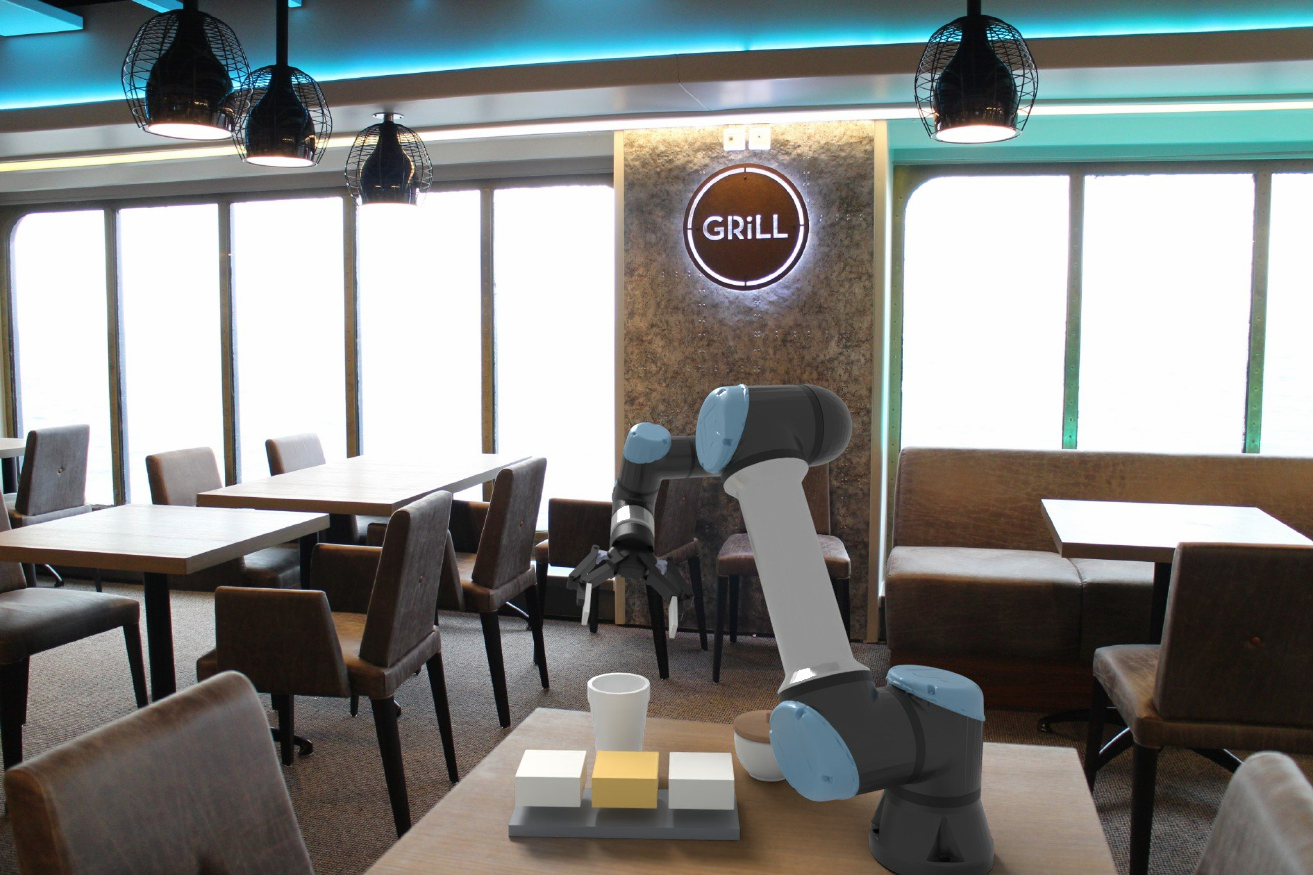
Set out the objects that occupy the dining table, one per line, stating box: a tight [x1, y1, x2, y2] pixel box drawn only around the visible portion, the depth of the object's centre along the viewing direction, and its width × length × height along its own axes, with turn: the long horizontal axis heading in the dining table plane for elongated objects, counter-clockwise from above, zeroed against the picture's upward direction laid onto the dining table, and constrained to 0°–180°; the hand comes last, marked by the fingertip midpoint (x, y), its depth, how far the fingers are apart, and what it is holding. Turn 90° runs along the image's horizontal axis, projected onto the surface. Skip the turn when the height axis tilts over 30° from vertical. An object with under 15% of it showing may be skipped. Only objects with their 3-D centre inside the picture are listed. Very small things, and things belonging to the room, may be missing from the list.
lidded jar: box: [733, 709, 786, 783], centre depth 146 cm, size 11×11×9 cm
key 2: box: [668, 751, 735, 810], centre depth 132 cm, size 8×8×4 cm
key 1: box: [514, 749, 588, 807], centre depth 132 cm, size 8×8×4 cm
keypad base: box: [508, 787, 741, 841], centre depth 132 cm, size 30×11×2 cm, turn 88°
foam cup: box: [587, 672, 651, 756], centre depth 148 cm, size 10×9×13 cm
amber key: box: [591, 751, 660, 808], centre depth 132 cm, size 8×8×4 cm
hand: (629, 625), depth 148 cm, fingers open, 13 cm apart
